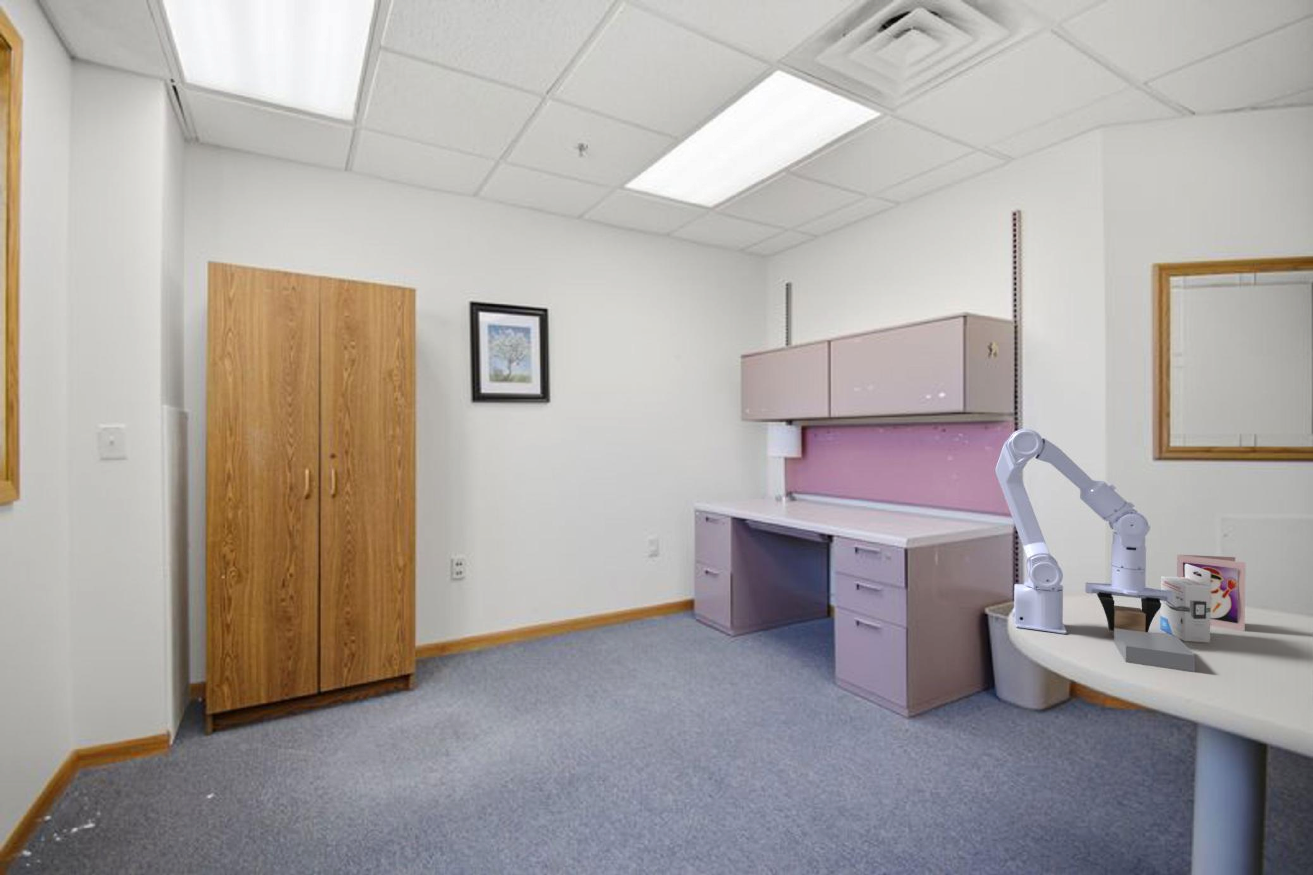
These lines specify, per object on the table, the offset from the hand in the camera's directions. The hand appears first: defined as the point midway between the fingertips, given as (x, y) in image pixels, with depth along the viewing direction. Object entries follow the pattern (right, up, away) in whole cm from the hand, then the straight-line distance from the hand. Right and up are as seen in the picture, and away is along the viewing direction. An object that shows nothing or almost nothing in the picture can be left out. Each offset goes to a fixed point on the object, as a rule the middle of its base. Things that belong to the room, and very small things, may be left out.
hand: (1127, 631), depth 128 cm
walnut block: (0, -1, 0) cm, 1 cm away
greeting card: (+28, -2, +11) cm, 30 cm away
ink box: (+14, -2, +2) cm, 14 cm away
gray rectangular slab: (-3, -2, -11) cm, 11 cm away
